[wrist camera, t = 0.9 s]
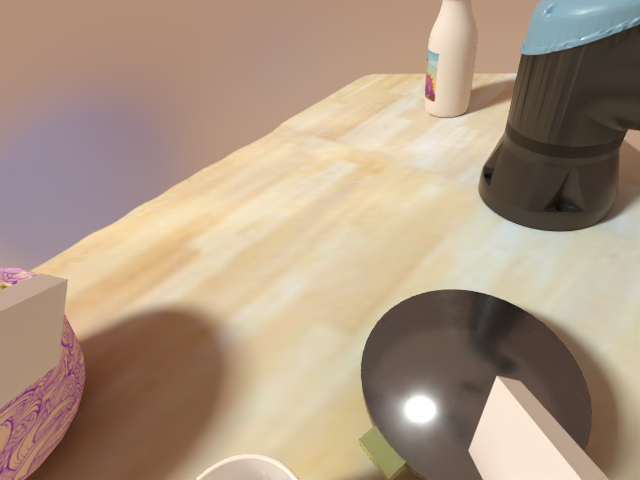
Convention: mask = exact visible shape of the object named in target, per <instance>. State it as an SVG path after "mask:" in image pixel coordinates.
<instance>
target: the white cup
mask: <svg viewBox="0 0 640 480" xmlns="http://www.w3.org/2000/svg"><path fill="white" fill-rule="evenodd" d="M196 480H299V478H298V477H297V476H296V475H295V473H294V472H293V471H292V470H291V469H290V468H288V467H287V466H286V465H285V464H283V463H282V462H280V461H278V460H277V459H274V458H272V457H269V456H266V455H262V454H240V455H236V456H232V457H229V458H226V459H224V460H222V461H220V462H218V463H216V464H215V465H213V466H211V467H210V468H209V469H207V470H206V471H205V472H203V473H202V474H201V475H200V476H199V477H198V478H197V479H196Z"/></svg>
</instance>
